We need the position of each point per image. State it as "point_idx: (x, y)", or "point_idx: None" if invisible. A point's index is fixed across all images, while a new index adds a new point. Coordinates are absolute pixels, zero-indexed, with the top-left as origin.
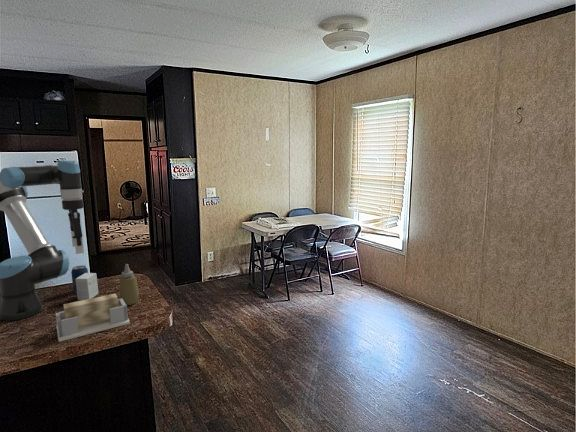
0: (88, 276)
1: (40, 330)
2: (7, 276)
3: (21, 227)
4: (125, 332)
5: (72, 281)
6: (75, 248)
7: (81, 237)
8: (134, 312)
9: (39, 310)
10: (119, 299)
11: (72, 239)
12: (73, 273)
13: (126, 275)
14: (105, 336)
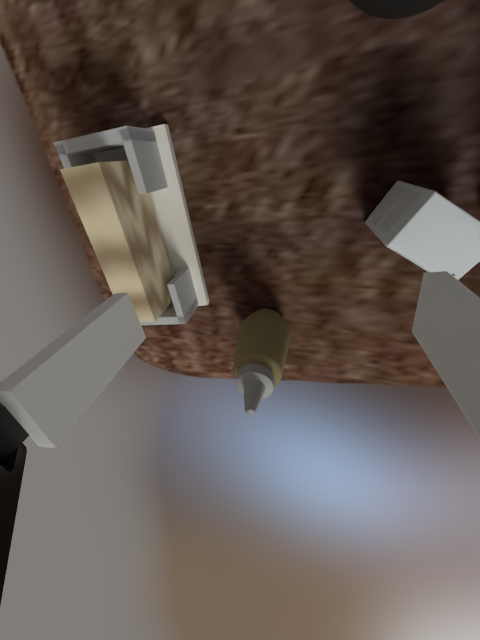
0: (420, 253)
1: (172, 63)
2: None
3: None
4: (105, 292)
5: None
6: (92, 315)
7: (38, 440)
8: (200, 322)
9: (363, 7)
10: (178, 317)
11: (467, 320)
12: None
13: (237, 377)
14: (94, 254)
